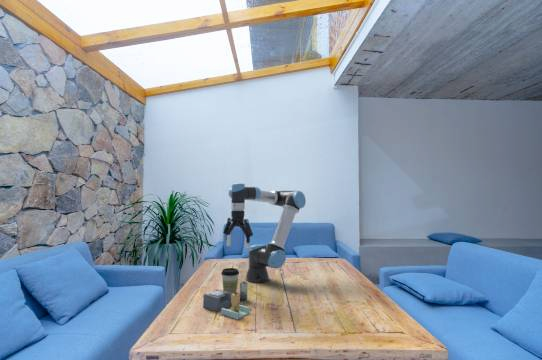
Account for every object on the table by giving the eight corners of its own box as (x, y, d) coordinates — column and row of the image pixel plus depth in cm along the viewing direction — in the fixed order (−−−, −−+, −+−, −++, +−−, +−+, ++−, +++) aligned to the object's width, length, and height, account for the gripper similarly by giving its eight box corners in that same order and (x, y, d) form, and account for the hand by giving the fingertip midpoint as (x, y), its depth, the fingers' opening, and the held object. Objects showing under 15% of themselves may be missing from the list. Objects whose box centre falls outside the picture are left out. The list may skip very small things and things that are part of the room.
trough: (233, 308, 157) (233, 303, 157) (249, 313, 151) (249, 307, 151) (221, 314, 150) (221, 308, 150) (237, 319, 144) (237, 313, 144)
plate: (217, 293, 164) (217, 290, 164) (225, 295, 161) (225, 292, 161) (209, 296, 159) (209, 293, 160) (217, 298, 156) (217, 295, 156)
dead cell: (243, 298, 172) (243, 280, 173) (248, 299, 170) (248, 281, 170) (238, 300, 169) (238, 282, 169) (244, 301, 167) (244, 283, 167)
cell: (234, 310, 153) (234, 290, 153) (240, 312, 151) (241, 292, 151) (229, 313, 150) (229, 292, 150) (235, 315, 147) (235, 294, 148)
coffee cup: (222, 300, 168) (222, 272, 168) (220, 295, 177) (220, 268, 178) (240, 299, 170) (240, 271, 171) (237, 293, 180) (237, 267, 180)
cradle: (217, 301, 167) (217, 289, 167) (231, 305, 161) (231, 292, 162) (203, 307, 159) (203, 294, 159) (217, 311, 153) (217, 298, 153)
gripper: (217, 209, 184) (217, 245, 184) (250, 211, 170) (250, 250, 169) (226, 208, 190) (225, 244, 190) (259, 210, 176) (258, 248, 176)
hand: (237, 247), depth 180 cm, fingers open, 13 cm apart
